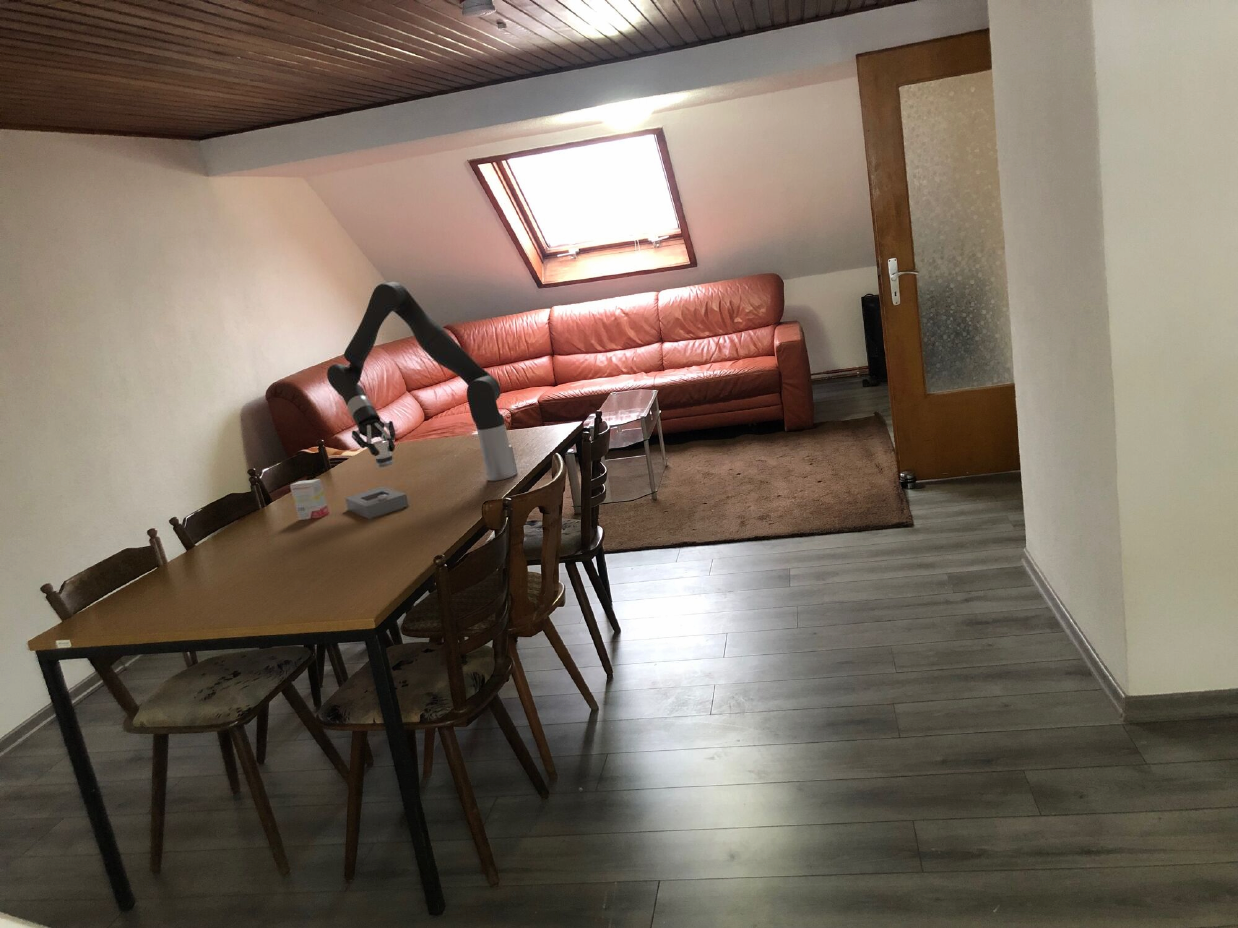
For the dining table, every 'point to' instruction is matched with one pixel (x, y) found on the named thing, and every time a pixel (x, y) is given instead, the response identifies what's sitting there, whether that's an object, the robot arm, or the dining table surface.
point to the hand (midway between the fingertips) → (384, 452)
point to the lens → (383, 453)
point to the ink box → (309, 499)
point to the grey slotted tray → (376, 502)
